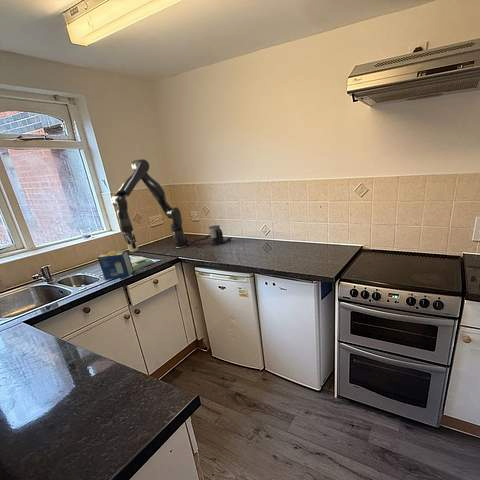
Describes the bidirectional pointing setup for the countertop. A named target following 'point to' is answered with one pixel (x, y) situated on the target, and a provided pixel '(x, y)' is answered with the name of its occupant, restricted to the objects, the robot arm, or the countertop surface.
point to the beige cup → (132, 247)
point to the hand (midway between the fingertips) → (132, 247)
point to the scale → (140, 262)
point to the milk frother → (217, 235)
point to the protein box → (115, 264)
